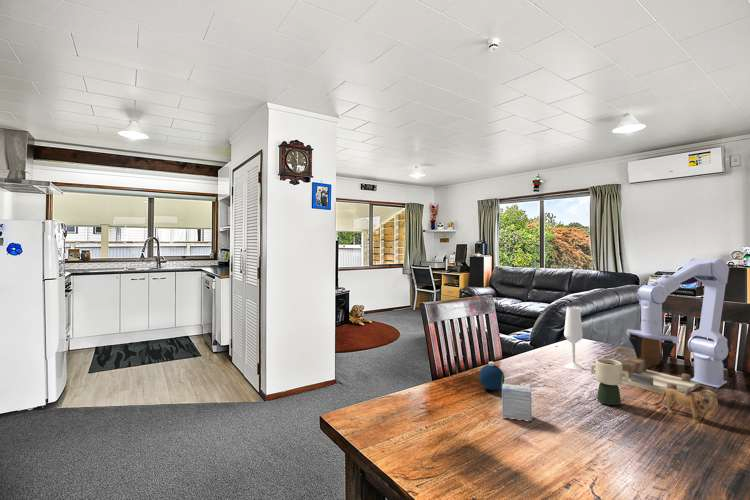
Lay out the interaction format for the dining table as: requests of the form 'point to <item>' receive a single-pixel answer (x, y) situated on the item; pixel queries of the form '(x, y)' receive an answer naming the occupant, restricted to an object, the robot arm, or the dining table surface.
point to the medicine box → (516, 402)
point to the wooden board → (634, 366)
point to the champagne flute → (573, 332)
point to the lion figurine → (690, 401)
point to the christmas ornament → (491, 376)
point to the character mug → (609, 380)
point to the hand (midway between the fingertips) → (651, 359)
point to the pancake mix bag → (650, 351)
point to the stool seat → (662, 382)
